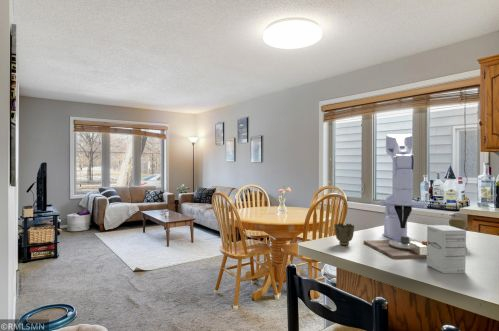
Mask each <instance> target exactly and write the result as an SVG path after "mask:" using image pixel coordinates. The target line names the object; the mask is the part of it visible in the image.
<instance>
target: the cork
mask: <svg viewBox="0 0 499 331" xmlns="http://www.w3.org/2000/svg"><path fill="white" fill-rule="evenodd" d="M448 226H452V227H455V228H459V229H462V230H465V226H466V221H465V219H463V218H460V217H451V218H449V220H448Z"/></svg>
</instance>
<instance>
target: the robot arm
mask: <svg viewBox="0 0 499 331" xmlns="http://www.w3.org/2000/svg"><path fill="white" fill-rule="evenodd" d="M413 143H414V141H413V135H412V134H411V133H408V134H387V135H386V137H385V150H386V151H385V152H386V155H388V156H390V157H391V160H392V183H391V184H392V185H391V186H392V190H391V191H392V192H391V193H390V194H389V195H387V196H386V198H385V199H379V200H380V201H379V202H380V203H379V204H380V205H379V206H380V207H384V213H385V215H386V216H385V217H384V219H383V233H382V234H381V235H383V236H385V237H387V238H389V239H391V240H395V239H401V236H407V237H409V239H413V238H412V237H410V236H408V218H409V217H411V216H412V211H413V208H414V209H415V208H416V209H428V202H425V201H415V200H413V176H414V175H413V171H414V170H415V155H414V153H411V152H412V149H413Z"/></svg>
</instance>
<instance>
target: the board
mask: <svg viewBox="0 0 499 331" xmlns="http://www.w3.org/2000/svg"><path fill="white" fill-rule="evenodd" d="M409 237H410V236H408V235H407V236H401V242H402V243H409V240H410V241H415V242H418V243H421V244H423V245H425V246H427V240H422V241H421V240H418V239H415V238H412V239H409ZM390 240H391V239H378V240H377V239H375V240H374V239H373V240H370V239H369V240H363V244H364V245H366V246H368V247H370V248H372V249H374V250H376V251H378V252H380V253H382V254H383V255H385V256H388V258H391V259H393V260H395V259H397V260H398V259H399V260H400V259H422V258H423V259H424V258H426V259H427V255H419V254H417V253H415V252H413V251H411V250H404V249H398V248H394V247H392V246H390V245H389V241H390Z"/></svg>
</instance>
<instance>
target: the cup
mask: <svg viewBox="0 0 499 331" xmlns="http://www.w3.org/2000/svg"><path fill="white" fill-rule="evenodd" d="M333 225H334V232H335V238H336V240H337V241H339V242H338V243H339V245H340V246H342V247H343V246H344V247H347V246H349V245H350V242H351V241H352V240H353V238H354V234H355V233H354V232H355V225H354V224H352V223H346V225H345V224H344V223H342V222H338V223H337V222H336V223H335V224H333Z"/></svg>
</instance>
